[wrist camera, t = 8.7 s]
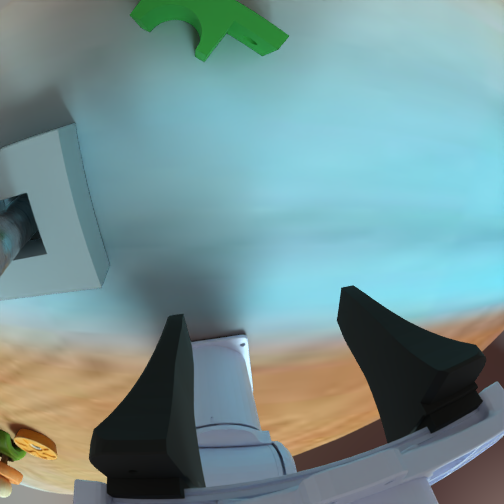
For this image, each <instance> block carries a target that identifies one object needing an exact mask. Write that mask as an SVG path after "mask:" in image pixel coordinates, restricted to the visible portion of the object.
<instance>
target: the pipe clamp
mask: <svg viewBox="0 0 504 504" xmlns="http://www.w3.org/2000/svg"><path fill="white" fill-rule="evenodd" d="M130 16H131V17H132V18H133V19H134V20H135V22H136V23H137V24H138V25H139V26H140V27H141V28H142V29H144V30H146V31H148V32H151V31H152V30H153V29H154V28H155V27H156V26H157V25H159V24H160V23H163V22H165V21H169V20H182V21H185V22H188V23H189V24H191V25H192V26H193V27H194V28H195V29H196V30H197V32H198V34H199V37H200V42H199V45H198V46H197V48H196V51H195V57H197V58H198V59H200V60H202V61H203V62H205V61H206V59H207V58H208V57H209V55H210V54H211V53H212V51H213V50H214V49H215V47H216V46H217V45H218V43H219V42H220V41H221V40H222V38H223V37H224V36H225V35H226V33H227V34H229V35H231V36H232V37H234V38H235V39H237V40H239V41H240V42H242V43H243V44H245V45H246V46H248V47H249V48H251V49H252V50H254V51H255V52H257V53H258V54H260V55H261V56H264V55H266V54H269V53H271V52H273V51H276V50H278V49H279V48H280V47H281V46H282V44H283V43H284V42H285V41H286V39H287V38H288V37H289V35H287V34H286V33H285V32H283V31H282V30H280V29H279V28H278V27H276V26H275V25H273V24H272V23H270V22H269V21H267V20H266V19H264V18H263V17H261V16H260V15H258V14H257V13H255V12H254V11H252V10H251V9H249V8H247V7H246V6H244V5H243V4H241V3H239V2H238V1H236V0H141V1H140V2H139V3H138V4H137V6H136V7H135V8H134V10H133V11H132V12H131V14H130Z"/></svg>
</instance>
